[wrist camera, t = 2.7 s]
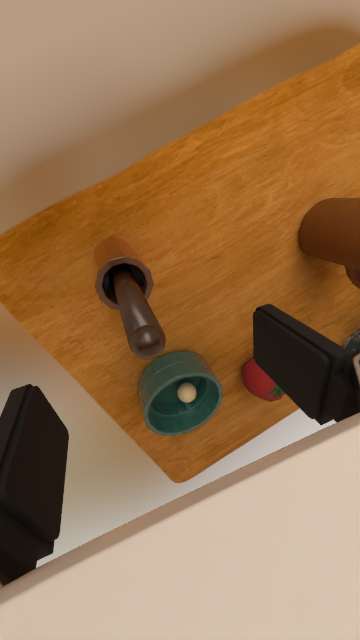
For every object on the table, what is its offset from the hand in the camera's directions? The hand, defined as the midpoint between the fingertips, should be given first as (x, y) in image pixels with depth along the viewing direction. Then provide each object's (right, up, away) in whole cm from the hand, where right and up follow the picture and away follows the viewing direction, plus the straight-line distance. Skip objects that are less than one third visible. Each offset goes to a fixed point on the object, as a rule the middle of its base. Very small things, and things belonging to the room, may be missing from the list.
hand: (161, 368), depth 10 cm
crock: (-6, +9, +16) cm, 19 cm away
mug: (+21, +14, +24) cm, 35 cm away
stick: (-6, +9, +16) cm, 19 cm away
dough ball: (+2, -9, +26) cm, 28 cm away
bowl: (0, -7, +27) cm, 28 cm away
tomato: (+14, -6, +32) cm, 36 cm away
